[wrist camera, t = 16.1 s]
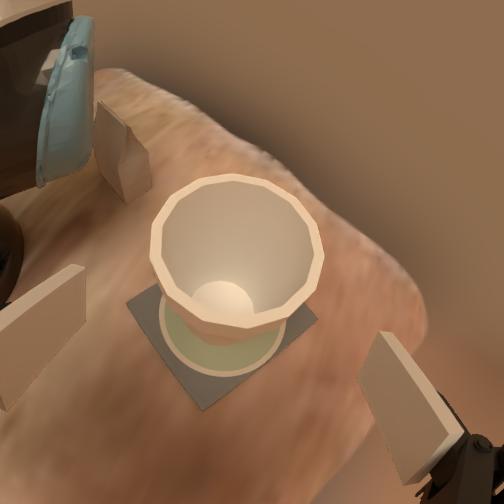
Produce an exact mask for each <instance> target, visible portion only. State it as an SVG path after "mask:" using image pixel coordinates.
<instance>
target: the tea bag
mask: <svg viewBox="0 0 504 504" xmlns="http://www.w3.org/2000/svg"><path fill="white" fill-rule="evenodd" d="M101 103H102V104H101ZM101 103H99V102H98V108H97V113H96V118H95V122H94V126H93V149H94V153H95V156H96V160H97V164H98V167H99V170H100V173H101V174H102V176H103V177H104V178H105V179H106V181H107V182H108V183H109V184H110V185H111V187H112V188H113V189H114V190H115V191H116V193H117V194H118V195H119V196H120V197H121V199H122V200H123V201H124V202H125V203H126V204H128V203H129V202H131V201H132V200H134V199H136V198H137V197H139V196H140V195H142V194H143V193H145V192H147V191H148V190H150V189H151V188H152V182H151V174H150V166H149V158H148V151H147V150H146V149H145V148H144V146H143V145H142V144H141V143H140V142H139V141H138V140H137V139H136V137H135V136H134V134H133V133H132V130H131V128H130V127H129V126H128V125H127V124H126V123H125V122H124V121H123V120H122V119H120V118H119V117H118V116H117V115H116V114H115V113H114V112H113V111H112V110H111V109H109V108H108V107H107V106H106V105H105V104H104V103H103V102H102V101H101Z"/></svg>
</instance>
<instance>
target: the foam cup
mask: <svg viewBox="0 0 504 504" xmlns="http://www.w3.org/2000/svg"><path fill="white" fill-rule="evenodd" d="M324 257H325V256H324V252H323V248H322V243H321V239H320V235H319V231H318V227H317V224H316V222H315V221H314V220H313V219H312V217H311V216H310V215H309V213H308V212H307V211H306V210H305V208H304V207H303V206H302V204H301V203H300V202H299V201H298V199H297V198H296V197H294V196H293V195H291V194H289V193H288V192H286V191H284V190H283V189H281V188H279V187H278V186H276V185H274V184H273V183H271V182H269V181H268V180H264V179H259V178H255V177H250V176H245V175H239V174H234V173H231V174H224V175H218V176H211V177H205V178H199V179H197V180H196V181H194V182H192V183H190V184H189V185H187V186H185V187H184V188H182V189H180V190H179V191H177V192H175V193H174V194H172V195H171V196H170V197H169V198H168V200H167V201H166V203H165V204H164V206H163V207H162V209H161V210H160V212H159V214H158V215H157V217H156V218H155V220H154V221H153V223H152V230H151V244H150V262H151V266H152V269H153V273H154V276H155V279H156V281H157V283H158V285H159V287H160V289H161V291H162V293H163V295H164V297H165V299H166V301H167V303H168V305H169V307H170V309H171V310H172V311H173V312H175V313H176V314H177V315H179V316H180V317H181V318H182V320H183V321H184V323H185V324H186V325H187V327H188V328H189V329H190V331H191V332H192V333H193V335H194V336H196V337H197V338H199V339H200V340H201V341H203V342H204V343H206V344H207V345H212V346H218V347H227V346H230V345H234V344H238V343H240V342H243V341H245V340H247V339H249V338H251V337H253V336H255V335H258V334H261V333H264V332H268V331H271V330H274V329H277V328H278V327H279V326H280V325H281V324H282V323H284V322H285V321H286V320H287V319H288V318H289V317H290V316H291V315H292V314H293V313H294V312H295V311H296V310H297V309H298V308H299V307H300V306H301V305H302V304H303V303H304V302H305V300H306V299H307V298H308V297H309V296H310V295H311V294H312V293H313V292H314V291H315V290H316V287H317V283H318V280H319V276H320V272H321V268H322V264H323V260H324Z"/></svg>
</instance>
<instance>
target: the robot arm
mask: <svg viewBox="0 0 504 504" xmlns="http://www.w3.org/2000/svg"><path fill="white" fill-rule="evenodd" d="M72 9H73V8H72V0H0V200H1V199H4V198H6V197H9V196H11V195H14V194H16V193H19V192H22V191H24V190H27V189H30V188H33V187H35V186H37V187H38V188H42V187H44V186H45V184H46V183H47V182H50V181H52V180H55V179H58V178H60V177H63V176H66V175H69V174H71V173H74V172H76V171H78V170H80V169H81V168H82V167H83V166H84V165H85V164H86V163H87V161H88V159H89V157H90V155H91V152H92V147H93V102H94V50H95V44H94V43H95V40H94V31H95V22H94V19H93V18H92V17H90V16H84V15H79V16H76V17H75V19H74V17H73V10H72ZM22 258H23V237H22V232H21V229H20V227H19V225H18V223H17V221H16V220H15V219H14V217H13V216H12V214H11V213H10V212H9V211H8V210H7V209H6V208H5V207H4V206H3V205H1V204H0V408H1V409H2V410H4V411H5V412H8V411H9V409H10V408H11V407H12V406H13V404H14V403H15V402H16V401H17V399H18V398H19V397H20V396H21V395H22V393H23V392H24V391H25V390H26V389H27V387H28V386H29V385H30V384H31V383H32V381H33V380H34V379H35V378H36V377H37V375H38V374H39V373H40V372H41V371H42V370H43V369H44V367H45V366H46V365H47V364H48V363H49V362H50V361H51V359H52V358H53V357H54V356H55V355H56V354H57V353H58V352H59V350H60V349H61V348H62V347H63V346H64V345H65V344H66V343H67V342H68V340H69V339H70V338H71V337H72V336H73V335H74V334H75V333H76V332H77V331H78V330H79V329H80V328H81V326H82V325H83V324H84V323H85V322H86V267H84V266H80V265H77V264H73V263H72V264H70V265H69V266H67V267H65V268H64V269H62V270H61V271H59V272H57V273H56V274H54V275H53V276H51V277H50V278H48V279H47V280H45V281H44V282H42V283H40V284H39V285H37V286H36V287H34V288H33V289H31V290H30V291H28V292H27V293H26V294H24V295H23V296H21V297H20V298H18V299H17V300H15V301H14V302H9V303H6V304H3V303H4V302H5V301H6V299H7V298H8V296H9V294H10V293H11V291H12V289H13V287H14V285H15V282H16V280H17V277H18V275H19V271H20V268H21V263H22ZM356 379H357V381H358V383H359V385H360V387H361V389H362V392H363V394H364V396H365V398H366V400H367V403H368V405H369V407H370V409H371V412H372V414H373V416H374V418H375V421H376V423H377V425H378V427H379V430H380V432H381V434H382V437H383V439H384V441H385V443H386V446H387V448H388V450H389V453H390V455H391V458H392V460H393V462H394V465H395V467H396V469H397V472H398V474H399V477H400V479H401V482H402V484H403V486H405V485H410V484H414V483H419V482H420V481H421V480H422V479H423V478H424V477H425V476H426V475H427V474H428V473H430V475H431V477H432V479H431V480H430V481H429V482H428V483H427V484H426V485H425V486H424V487H423V488H421V490H419V491H418V492H417V493H416V495H415V497H418V496H419V495H420V494H421V493H422V492H424V493H423V496H422V497H421V501H420V504H504V489H503V490H502V491H501V492H500V493H499V494H497V495H496V494H495V490H496V489H497V488H498V487H499V486H500V485H501V484H502V483H503V482H504V444H503V446H502V447H493V445H492V443H491V442H490V441H489V440H488V439H487V438H486V437H484V436H482V435H479V434H472V435H470V433H469V432H468V430H467V429H466V427H465V426H464V424H463V423H462V421H461V420H460V419H459V417H458V416H457V414H456V413H454V410H453V409H452V407H451V406H449V405H450V404H449V403H448V402H447V400H446V399H445V398H444V396H443V395H441V394H440V393H439V392H438V391H437V390H435V389H434V387H433V386H432V385H431V383H430V382H429V380H428V379H427V378H426V377H425V375H424V374H423V372H422V371H421V370H420V368H419V367H418V366H417V365H416V363H415V362H414V360H413V359H412V358H411V356H410V355H409V354H408V352H407V351H406V350H405V348H404V347H403V346H402V345H401V343H400V342H399V341H398V339H397V338H396V337H395V336H394V334H393V333H391V332H384V331H378V334H377V336H376V338H375V340H374V342H373V345H372V347H371V349H370V351H369V353H368V355H367V358H366V360H365V362H364V364H363V366H362V368H361V370H360V372H359V374H358V376H357V378H356Z"/></svg>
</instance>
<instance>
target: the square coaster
mask: <svg viewBox="0 0 504 504" xmlns="http://www.w3.org/2000/svg"><path fill="white" fill-rule="evenodd" d="M126 305H127V306H128V308H129V309H130V311H131V313H132V314H133V316H134V317H135V319H136V321H137V322H138V324H139V325H140V327H141V328H142V330H143V331H144V333H145V334H146V336H147V337H148V339H149V340H150V342H151V343H152V345H153V346H154V348H155V349H156V351H157V352H158V353H159V355H160V356H161V358H162V359H163V360H164V362H165V363H166V365H167V366H168V367H169V369H170V370H171V372H172V373H173V374H174V376H175V377H176V378H177V380H178V381H179V382H180V384H181V385H182V386H183V387H184V389H185V390H186V391H187V393H188V394H189V395H190V396H191V398H192V399H193V400H194V402H195V403H196V404H197V405H198V406H199V408H200V409H201V410H202V411H204V410H205V409H206V408H208V407H209V406H211V405H212V404H213V403H215V402H216V401H217V400H219V399H220V398H222V397H223V396H224V395H226V394H227V393H228V392H230V391H231V390H232V389H234V388H235V387H236V386H238V385H239V384H240V383H241V382H243V381H244V380H245V379H247V378H248V377H249V376H251V375H252V374H253V373H254V372H256V371H257V370H258V369H259V368H261V367H262V366H263V365H264V364H266V363H267V362H268V361H269V360H271V359H272V358H273V357H274V356H275V355H277V354H278V353H279V352H280V351H282V350H283V349H284V348H285V347H286V346H288V345H289V344H290V343H291V342H292V341H293V340H295V339H296V338H297V337H298V336H299V335H300V334H302V333H303V332H304V331H305V330H306V329H307V328H308V327H310V326H311V325H312V324H313V323H314V322H315V321H316V320H318V318H317V317H316V316H315V314H314V313H313V312H312V311H311V310H310V309H309V308H308V306H307V305H306V304H305V303H303V304H302V305H301V306H300V307H299V308H298V309H297V310H296V311H295V312H294V313H293V314H292V315H291V316H290V317H289V318H288V319H287V320H286V321H285V322H284V323H282V324H281V325H280V326H279V327H278V328H277V329H274V330H271V331H268V332H264V333H261V334H258V335H255V336H253V337H251V338H249V339H247V340H245V341H243V342H240V343H238V344H234V345H230V346H227V347H218V346H212V345H207V344H206V343H204V342H203V341H201V340H200V339H199V338H197V337H196V336H194V335H193V333H192V332H191V331H190V329H189V328H188V327H187V325H186V324H185V323H184V321H183V320H182V318H181V317H180V316H179V315H177V314H176V313H175V312H173V311H172V310H171V309H170V307H169V305H168V303H167V301H166V299H165V297H164V295H163V293H162V291H161V289H160V287H159V285H158V283H156V284H155V285H153V286H152V287H150V288H148V289H147V290H145V291H144V292H142V293H141V294H139V295H137V296H136V297H134V298H133V299H131V300H130V301H128V302H126Z"/></svg>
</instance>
